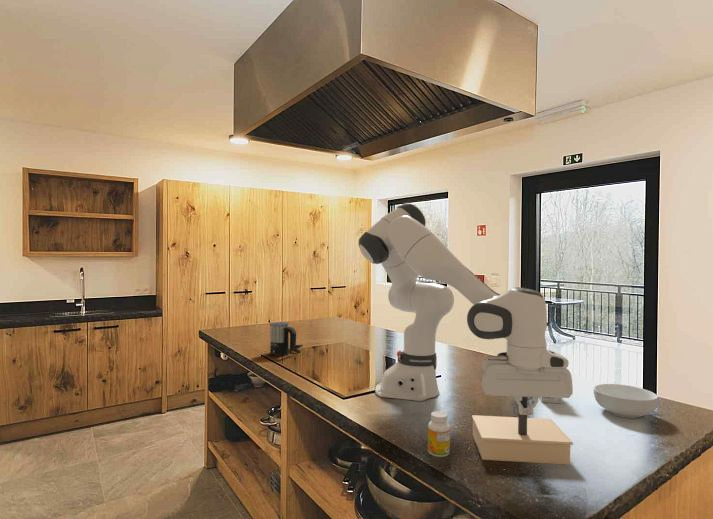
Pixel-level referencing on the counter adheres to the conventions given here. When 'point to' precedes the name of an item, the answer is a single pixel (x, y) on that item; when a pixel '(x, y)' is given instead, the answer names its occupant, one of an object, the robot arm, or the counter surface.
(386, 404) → the counter surface
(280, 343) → the milk frother
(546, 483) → the counter surface
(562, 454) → the tray
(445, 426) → the supplement bottle
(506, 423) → the mailer lid
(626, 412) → the cereal bowl
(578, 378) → the counter surface
